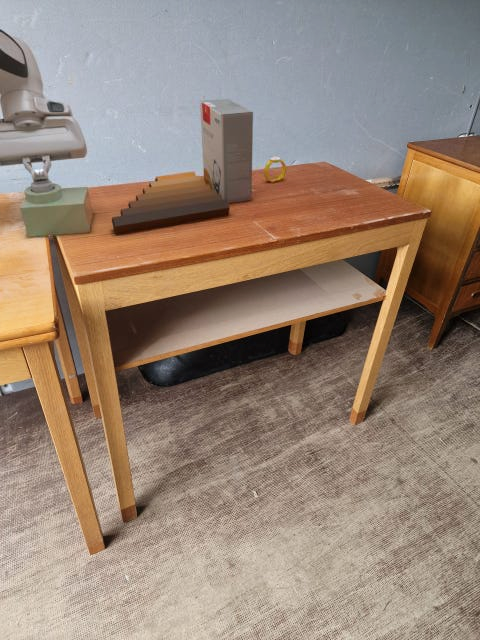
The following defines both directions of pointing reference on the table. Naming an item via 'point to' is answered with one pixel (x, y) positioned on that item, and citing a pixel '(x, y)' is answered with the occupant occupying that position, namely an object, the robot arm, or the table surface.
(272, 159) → the yellow toy ring
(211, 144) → the hard drive box
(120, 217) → the pan flute
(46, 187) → the grey push button
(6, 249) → the table surface
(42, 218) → the dispenser
